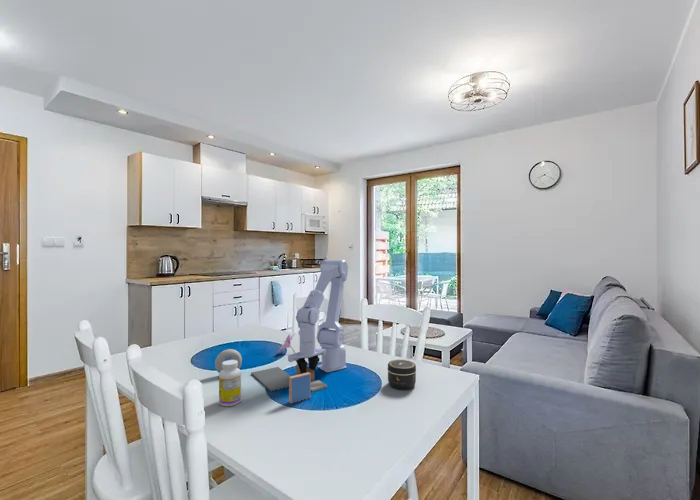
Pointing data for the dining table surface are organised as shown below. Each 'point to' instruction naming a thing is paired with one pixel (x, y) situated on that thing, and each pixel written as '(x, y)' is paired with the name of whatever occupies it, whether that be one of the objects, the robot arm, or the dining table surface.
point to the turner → (312, 379)
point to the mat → (272, 378)
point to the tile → (299, 387)
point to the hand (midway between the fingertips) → (307, 377)
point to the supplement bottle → (230, 383)
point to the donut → (224, 355)
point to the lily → (287, 343)
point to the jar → (401, 374)
